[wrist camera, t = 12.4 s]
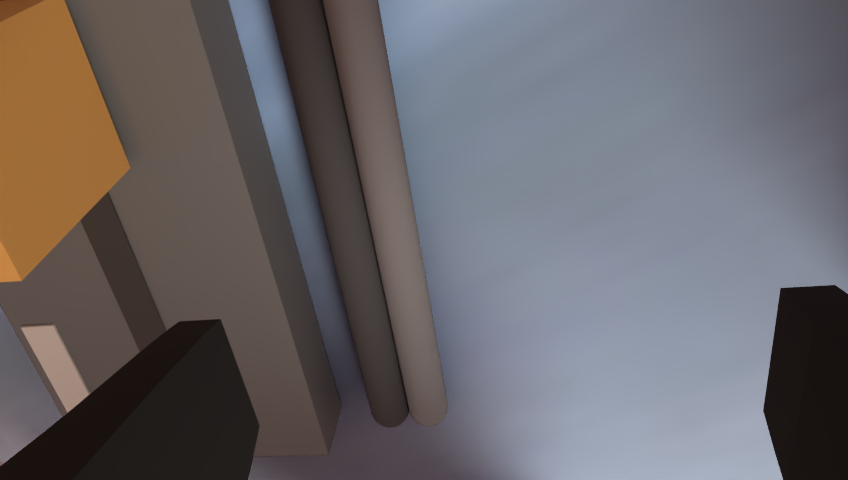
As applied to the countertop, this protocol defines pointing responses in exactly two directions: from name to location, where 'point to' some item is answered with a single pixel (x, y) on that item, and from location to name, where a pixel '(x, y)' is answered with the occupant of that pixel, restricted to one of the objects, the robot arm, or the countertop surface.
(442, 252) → the countertop surface
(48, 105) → the knob
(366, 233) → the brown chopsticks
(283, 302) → the switch panel
